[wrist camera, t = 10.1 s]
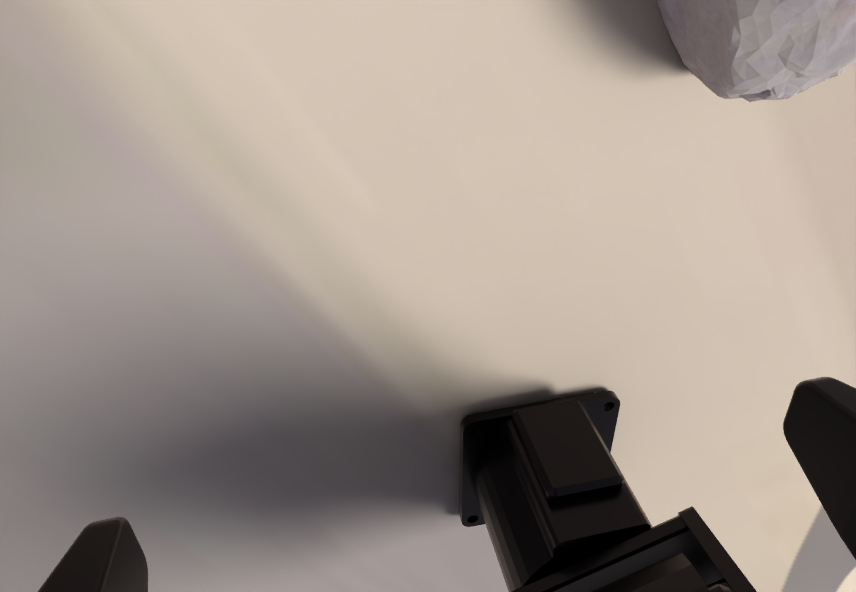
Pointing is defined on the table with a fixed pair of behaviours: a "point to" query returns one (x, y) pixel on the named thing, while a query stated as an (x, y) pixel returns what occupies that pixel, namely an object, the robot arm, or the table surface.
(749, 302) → the table surface
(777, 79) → the stone block
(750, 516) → the table surface
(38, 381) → the table surface
